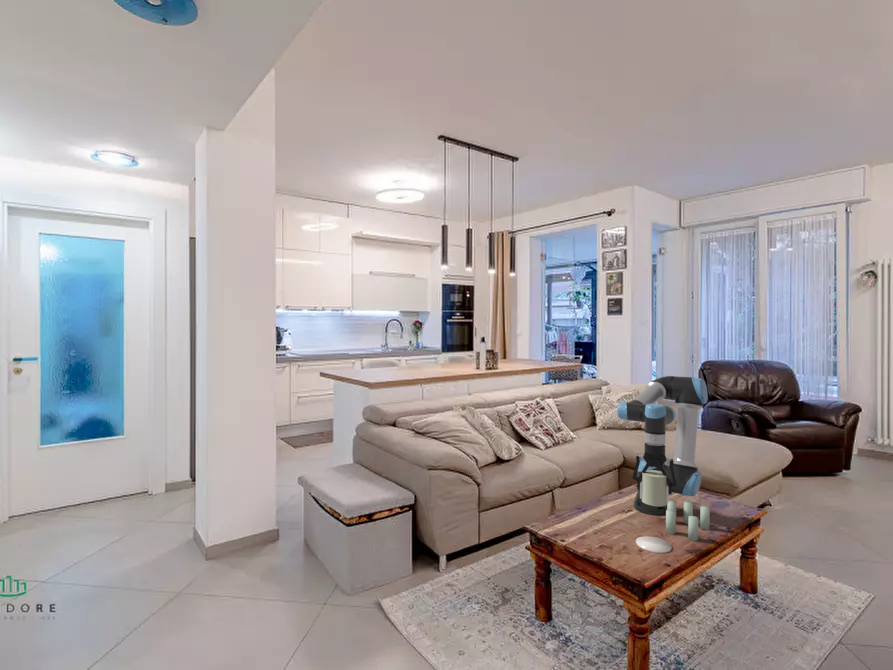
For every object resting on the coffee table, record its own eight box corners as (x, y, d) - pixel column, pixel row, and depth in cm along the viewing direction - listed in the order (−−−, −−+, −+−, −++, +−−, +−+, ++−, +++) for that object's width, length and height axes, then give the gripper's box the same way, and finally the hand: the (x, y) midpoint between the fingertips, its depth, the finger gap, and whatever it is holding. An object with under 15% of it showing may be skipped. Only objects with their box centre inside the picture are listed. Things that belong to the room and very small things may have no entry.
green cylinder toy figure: (656, 508, 179) (656, 477, 179) (636, 500, 188) (636, 470, 187) (672, 504, 184) (672, 473, 184) (652, 496, 192) (652, 467, 192)
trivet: (634, 548, 183) (634, 546, 183) (637, 535, 195) (637, 533, 195) (670, 555, 177) (670, 554, 177) (672, 542, 189) (672, 540, 189)
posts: (665, 535, 195) (665, 514, 194) (667, 517, 213) (667, 498, 213) (710, 544, 187) (711, 522, 187) (709, 525, 205) (709, 504, 205)
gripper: (624, 442, 187) (624, 498, 187) (685, 449, 177) (684, 508, 177) (627, 438, 194) (626, 492, 194) (685, 444, 184) (684, 501, 184)
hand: (654, 499), depth 186 cm, fingers closed on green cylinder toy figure, 9 cm apart
